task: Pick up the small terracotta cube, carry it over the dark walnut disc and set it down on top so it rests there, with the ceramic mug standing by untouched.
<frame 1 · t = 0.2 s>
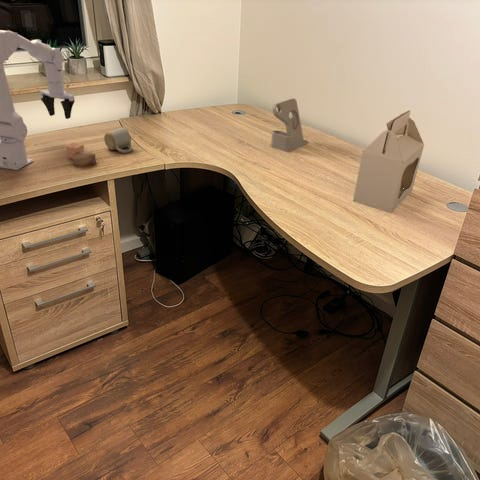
hand: (60, 116, 186), 10 cm above the table, tool pointing down, fingers open, 7 cm apart
phone holder: (289, 145, 202), on the table
gable box: (383, 196, 162), on the table
ceramic mug: (120, 149, 187), on the table
cube: (76, 156, 177), on the table
pedestal: (84, 163, 173), on the table
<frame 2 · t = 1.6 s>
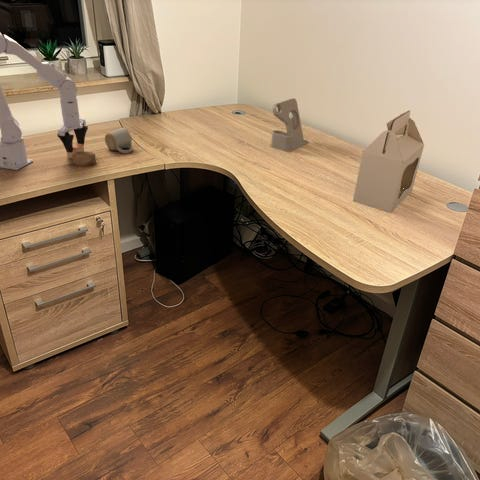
hand: (75, 148, 176), 3 cm above the table, tool pointing down, fingers open, 7 cm apart
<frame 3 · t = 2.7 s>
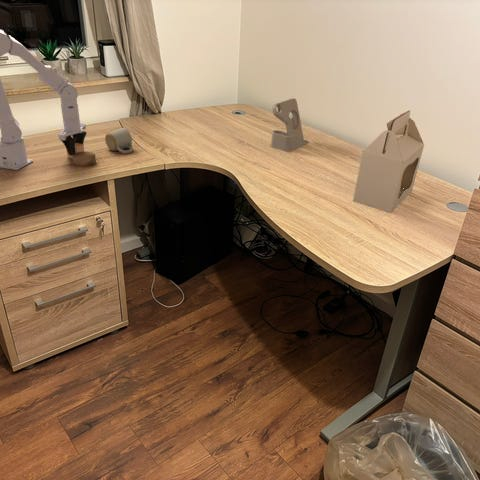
hand: (75, 152, 176), 1 cm above the table, tool pointing down, fingers closed on cube, 4 cm apart
cube: (76, 156, 177), on the table, touching gripper
everything else where it was.
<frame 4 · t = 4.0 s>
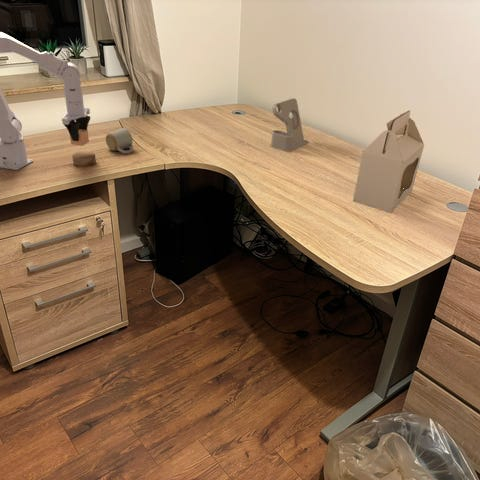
hand: (79, 138, 170), 8 cm above the table, tool pointing down, fingers closed on cube, 4 cm apart
cube: (80, 143, 171), point 7 cm above the table, touching gripper
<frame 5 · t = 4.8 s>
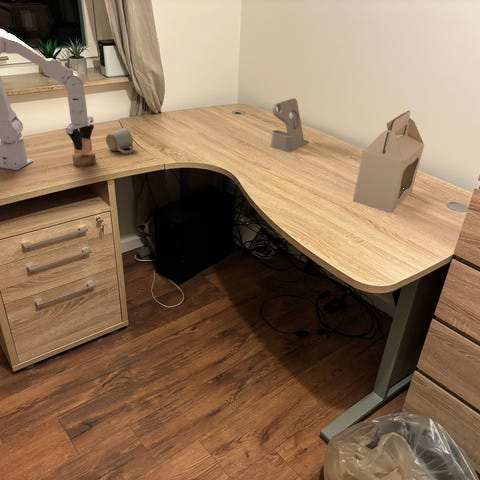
hand: (82, 147, 170), 6 cm above the table, tool pointing down, fingers closed on cube, 4 cm apart
cube: (83, 151, 171), point 4 cm above the table, touching gripper
when the fingers open (6 cm above the table, at t = 5.5 s): cube drops 2 cm, resting on pedestal.
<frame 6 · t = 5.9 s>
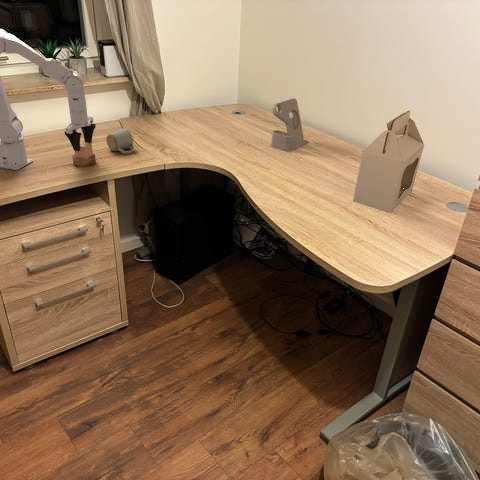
hand: (82, 147, 170), 6 cm above the table, tool pointing down, fingers open, 7 cm apart
cube: (84, 156, 171), point 3 cm above the table, touching pedestal
pedestal: (84, 163, 173), on the table, touching cube
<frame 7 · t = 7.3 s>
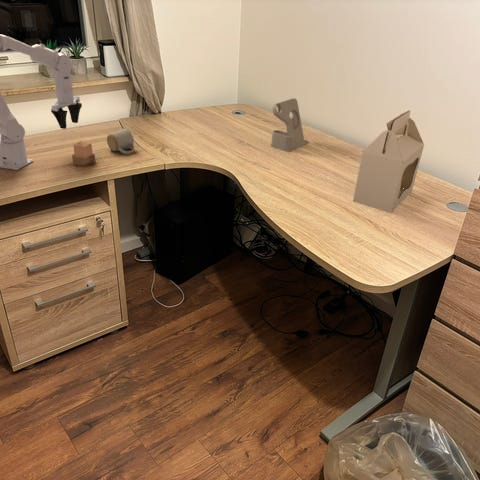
hand: (69, 125, 177), 10 cm above the table, tool pointing down, fingers open, 7 cm apart
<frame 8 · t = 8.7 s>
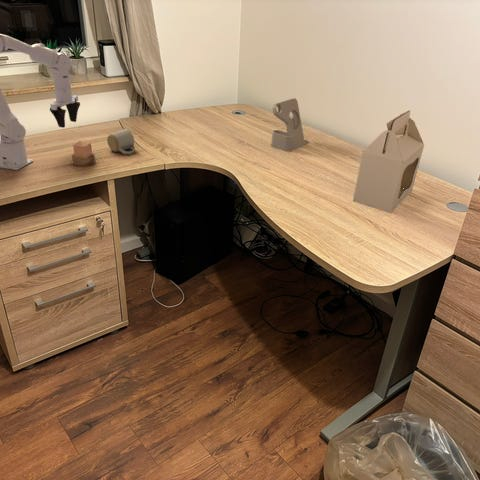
hand: (67, 124, 178), 10 cm above the table, tool pointing down, fingers open, 7 cm apart
at the end: cube 0.2 cm off-centre on the pedestal, point 3.0 cm above the pedestal's base; cube touching pedestal; the gripper is holding nothing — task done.
